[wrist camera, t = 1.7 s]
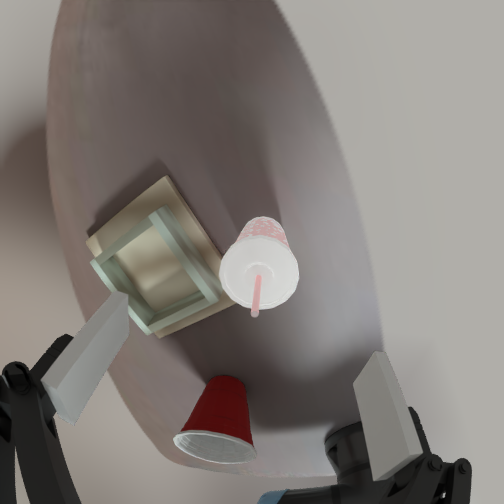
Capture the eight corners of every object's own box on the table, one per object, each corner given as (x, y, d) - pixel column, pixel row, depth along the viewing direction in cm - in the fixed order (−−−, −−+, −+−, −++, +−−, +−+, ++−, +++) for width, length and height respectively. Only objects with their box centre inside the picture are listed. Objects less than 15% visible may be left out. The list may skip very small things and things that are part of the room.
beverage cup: (280, 200, 28) (286, 253, 15) (299, 253, 30) (317, 337, 17) (225, 221, 29) (187, 286, 16) (247, 271, 31) (229, 359, 18)
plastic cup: (187, 396, 41) (169, 455, 30) (198, 355, 36) (176, 423, 25) (249, 413, 41) (243, 473, 30) (271, 375, 37) (269, 445, 26)
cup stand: (247, 293, 32) (244, 313, 28) (161, 334, 36) (151, 352, 32) (167, 175, 27) (152, 180, 24) (89, 239, 31) (71, 251, 27)
